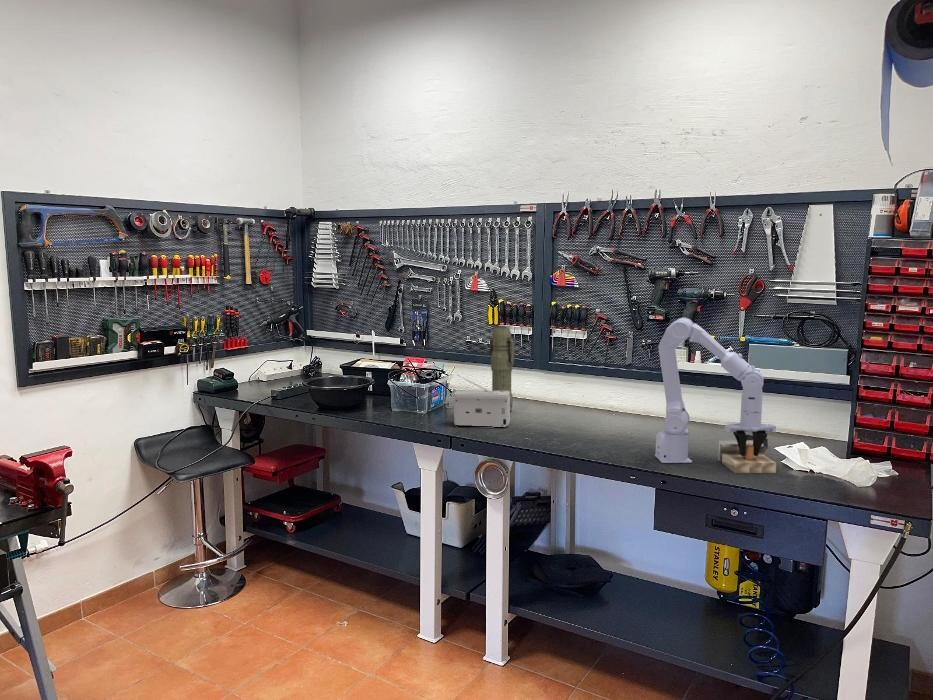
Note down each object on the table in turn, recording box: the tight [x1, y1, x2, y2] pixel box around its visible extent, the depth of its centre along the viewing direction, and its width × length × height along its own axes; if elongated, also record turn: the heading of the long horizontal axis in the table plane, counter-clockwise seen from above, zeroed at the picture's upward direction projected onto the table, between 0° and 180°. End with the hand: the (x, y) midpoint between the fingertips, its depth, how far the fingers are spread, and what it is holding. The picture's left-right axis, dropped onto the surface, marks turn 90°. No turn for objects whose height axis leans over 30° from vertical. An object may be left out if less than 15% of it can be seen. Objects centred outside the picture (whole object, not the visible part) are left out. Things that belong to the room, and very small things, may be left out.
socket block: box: [721, 453, 777, 474], centre depth 206 cm, size 12×10×3 cm
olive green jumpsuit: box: [489, 325, 515, 412], centre depth 281 cm, size 9×12×35 cm
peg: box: [745, 445, 754, 460], centre depth 205 cm, size 2×2×7 cm
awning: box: [717, 439, 764, 462], centre depth 212 cm, size 12×4×6 cm, turn 91°
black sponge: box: [746, 433, 769, 454], centre depth 224 cm, size 16×8×4 cm, turn 147°
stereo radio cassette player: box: [453, 374, 511, 428], centre depth 257 cm, size 21×8×20 cm, turn 84°
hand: (748, 455), depth 206 cm, fingers open, 3 cm apart
